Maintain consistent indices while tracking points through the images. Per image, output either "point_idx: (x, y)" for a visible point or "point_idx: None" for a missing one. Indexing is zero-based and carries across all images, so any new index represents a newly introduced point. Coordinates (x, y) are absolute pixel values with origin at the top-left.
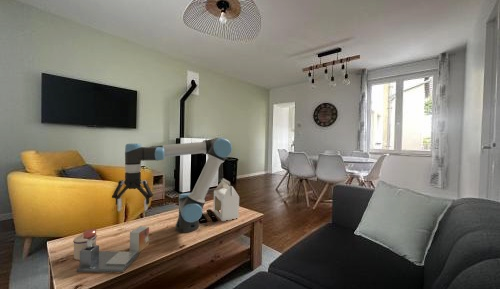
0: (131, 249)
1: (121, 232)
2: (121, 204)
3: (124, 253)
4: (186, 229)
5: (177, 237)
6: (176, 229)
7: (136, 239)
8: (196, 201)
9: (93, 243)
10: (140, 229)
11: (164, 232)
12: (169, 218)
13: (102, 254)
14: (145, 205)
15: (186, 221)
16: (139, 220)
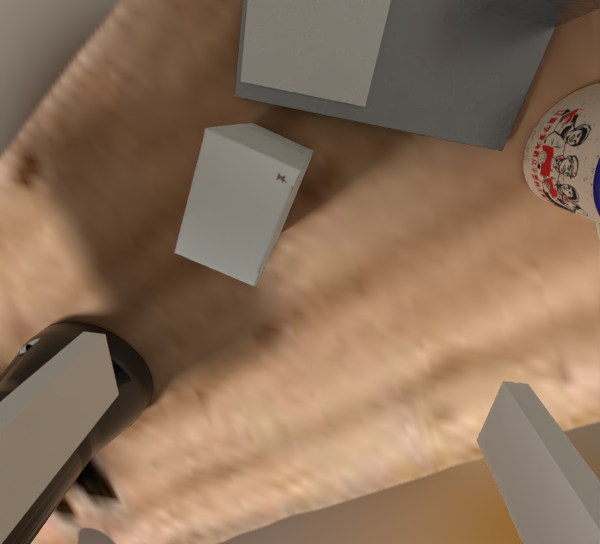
0: (298, 144)
1: (427, 382)
2: (519, 533)
3: (320, 69)
4: (61, 331)
5: (99, 276)
6: (134, 355)
7: (245, 132)
8: None
9: (584, 138)
10: (223, 208)
11: (193, 342)
12: (223, 474)
13: (471, 96)
14: (7, 400)
15: (32, 372)
16: (368, 483)
